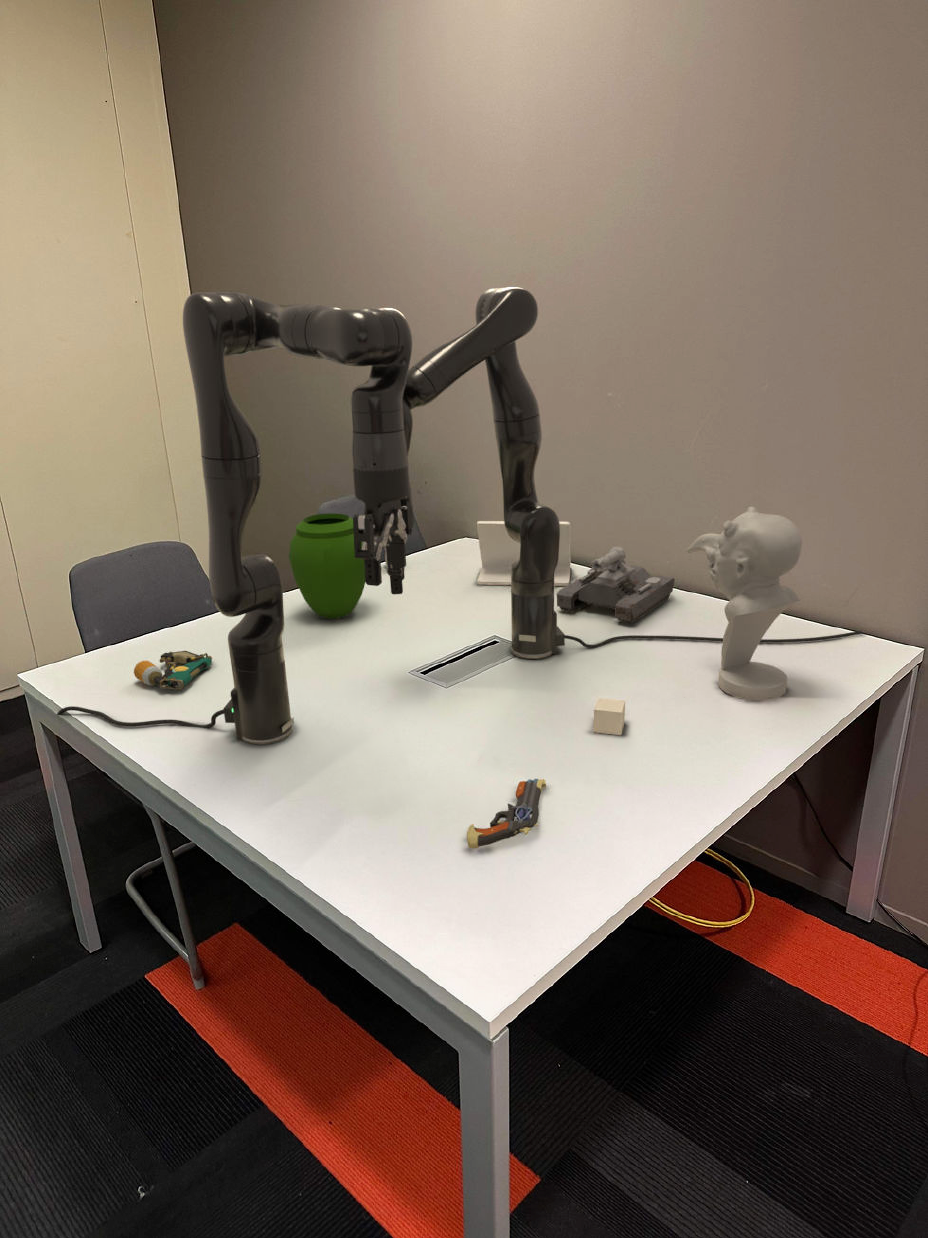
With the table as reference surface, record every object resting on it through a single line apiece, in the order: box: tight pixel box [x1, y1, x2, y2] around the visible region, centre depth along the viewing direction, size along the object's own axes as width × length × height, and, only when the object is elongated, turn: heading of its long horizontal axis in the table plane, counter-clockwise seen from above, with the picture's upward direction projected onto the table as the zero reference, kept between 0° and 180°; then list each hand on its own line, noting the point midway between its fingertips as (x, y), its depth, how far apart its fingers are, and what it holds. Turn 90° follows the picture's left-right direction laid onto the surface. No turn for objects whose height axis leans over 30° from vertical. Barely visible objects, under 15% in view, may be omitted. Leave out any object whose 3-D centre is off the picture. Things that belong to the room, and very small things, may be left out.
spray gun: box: [133, 650, 213, 690], centre depth 180 cm, size 4×17×15 cm
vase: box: [288, 512, 366, 620], centre depth 209 cm, size 20×20×24 cm
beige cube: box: [592, 697, 626, 736], centre depth 153 cm, size 5×5×5 cm
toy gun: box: [466, 778, 547, 850], centre depth 128 cm, size 3×19×10 cm
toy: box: [556, 546, 676, 624], centre depth 212 cm, size 25×20×15 cm
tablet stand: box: [476, 520, 572, 587], centre depth 236 cm, size 18×25×17 cm
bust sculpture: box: [686, 506, 803, 701], centre depth 166 cm, size 16×24×35 cm, turn 28°
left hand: (386, 575), depth 123 cm, fingers open, 8 cm apart
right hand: (398, 586), depth 165 cm, fingers open, 8 cm apart
